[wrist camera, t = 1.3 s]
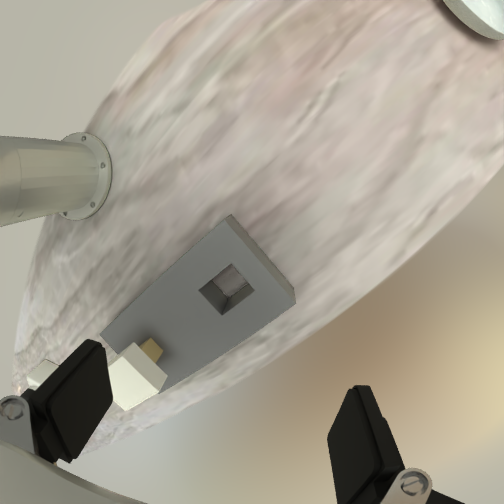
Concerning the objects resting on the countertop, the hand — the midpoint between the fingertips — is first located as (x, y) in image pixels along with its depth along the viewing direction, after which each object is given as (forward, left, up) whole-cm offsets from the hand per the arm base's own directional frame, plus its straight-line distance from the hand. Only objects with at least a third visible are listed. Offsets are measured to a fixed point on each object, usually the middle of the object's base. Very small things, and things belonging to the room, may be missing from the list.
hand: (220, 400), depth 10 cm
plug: (-16, -11, -22) cm, 29 cm away
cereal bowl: (+41, +36, -27) cm, 61 cm away
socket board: (-10, -7, -27) cm, 29 cm away
